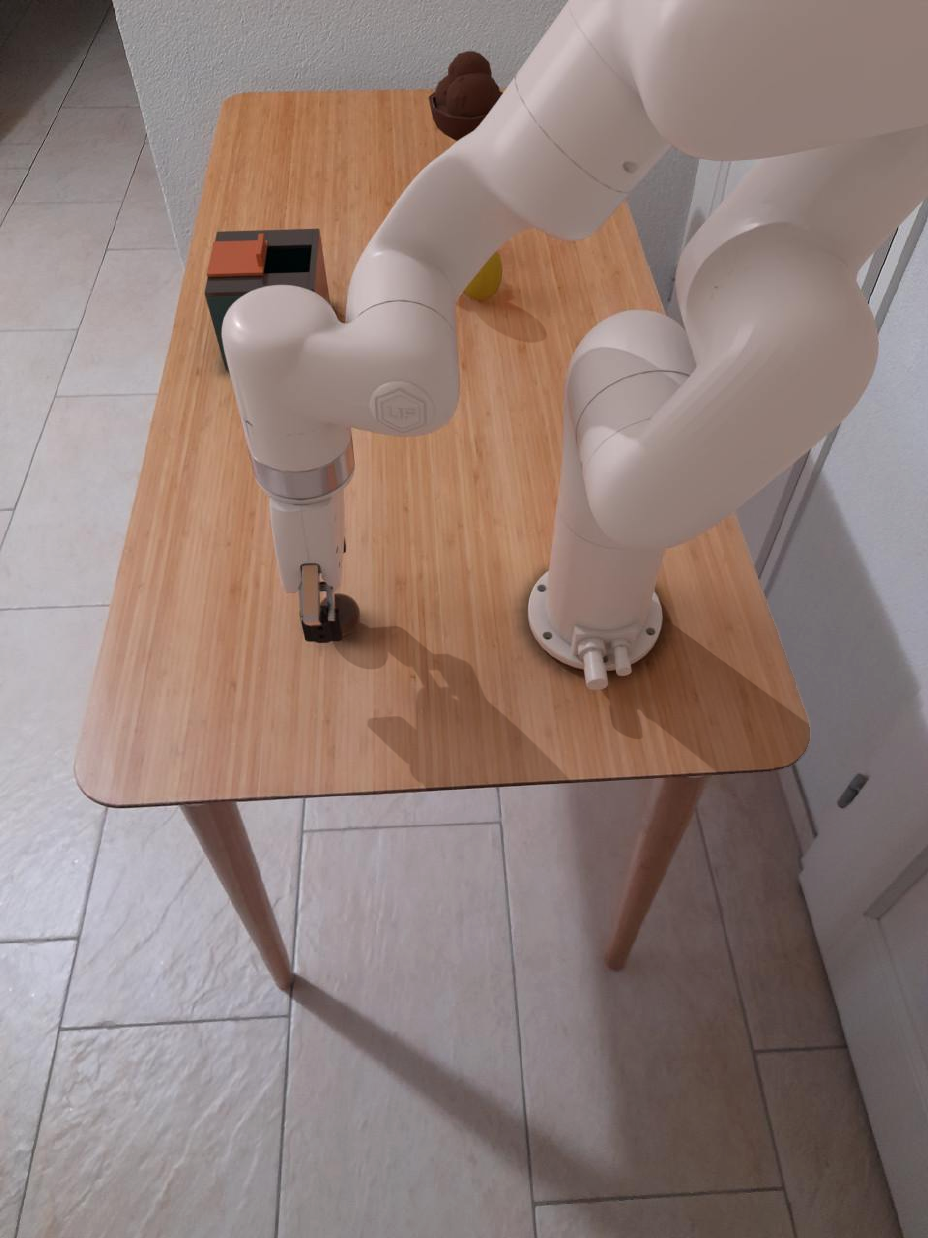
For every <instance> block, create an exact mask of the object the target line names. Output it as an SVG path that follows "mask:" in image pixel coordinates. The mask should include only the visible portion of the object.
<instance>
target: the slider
mask: <svg viewBox="0 0 928 1238" xmlns="http://www.w3.org/2000/svg"><path fill="white" fill-rule="evenodd" d="M267 245H268V241H267V240H265V237H264V234H259V236H258V240H249V241H216V242H215V241H213V242H212V246H211V251H210V255H209V261H208V265H207V270H206V277H229V276H261V275H263V273H264V266H265V259H266V252H267Z"/></svg>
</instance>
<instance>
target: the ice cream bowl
mask: <svg viewBox="0 0 928 1238" xmlns="http://www.w3.org/2000/svg"><path fill="white" fill-rule="evenodd" d="M492 73H493V72H492V69H491V63H490V61H489V60H487V58H486V57H484V55H482V54H481V53H480V52H477V51H474V50H466V51H464V52H460V53H458V54H457V55H456V56H455V57H454V58H453V59H452V61H451V62H450V63H449V65H448V67H447V75H445V76H444V77H443V78H442V79H441V80H439V81H438V83H437V85H436V88H435V91H434V92H433V93H431V94H430V95H429V96H428V101H429V106H430V110H431V115H432V120H433V122H434V124H435V127H436V128H437V129H438V130H439V131H440V132H441V133H443V135H445V136H447V137H448V138H450V139H452V140H454V141H455V142H457V141H458V140H460V139H461V138H463V137H464V136H466V135H468V134H469V133H471V132H473V131H474V130H475V129H476V128H477V127H478V126H479V125H480V124H481V122H482V121H483V120H484V119H485V117H486V116H487V115H488V113H489V112H490V111H491V109H492V108H493V107H494V105H495V104H496V102H497V101H498V100H499V98H500V97H501V95H502V94H503V93H504V91H501V89H500V87H499V85H498V84H497V82H496V80H495V78H494V77H493V76H492V75H493V74H492Z"/></svg>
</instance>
